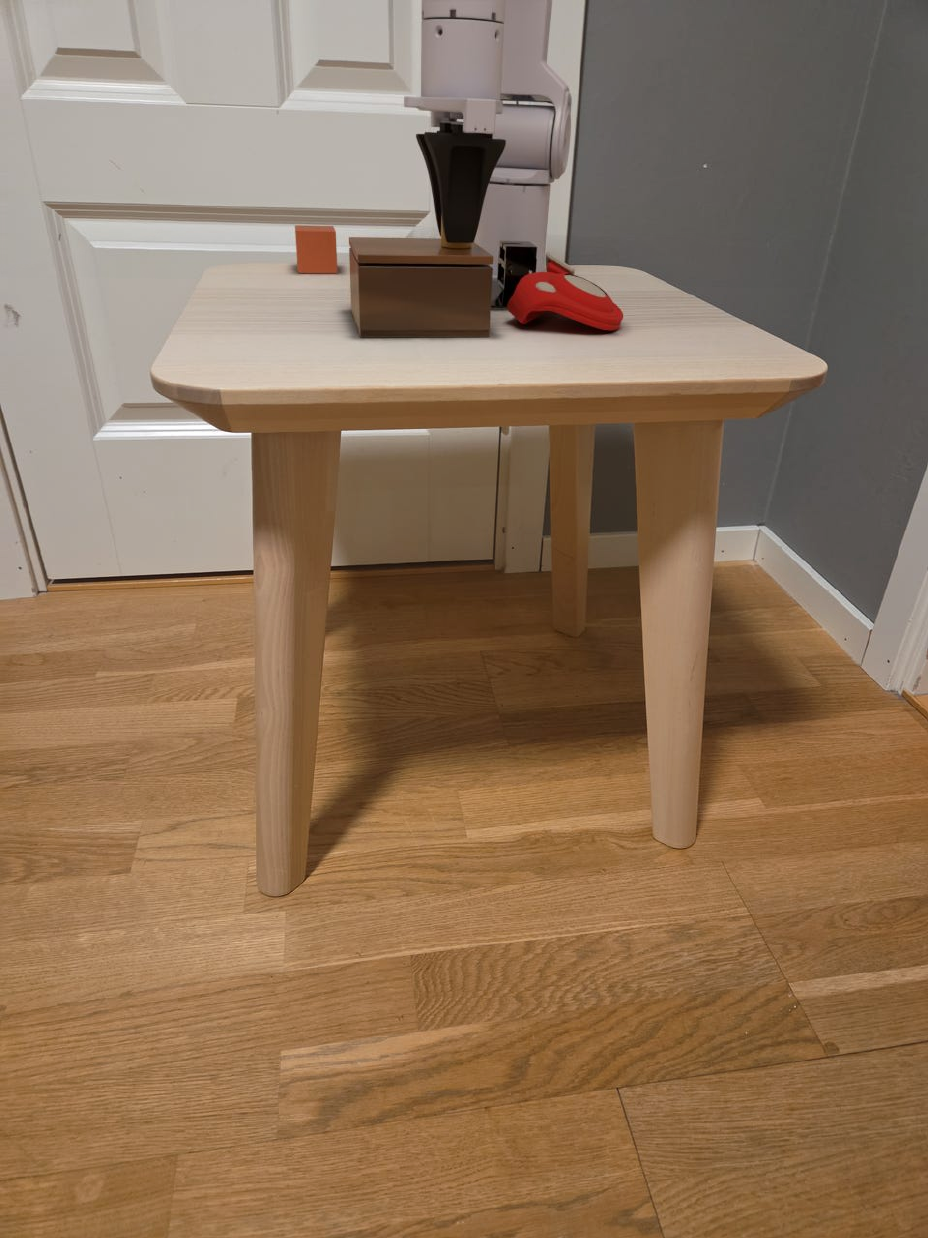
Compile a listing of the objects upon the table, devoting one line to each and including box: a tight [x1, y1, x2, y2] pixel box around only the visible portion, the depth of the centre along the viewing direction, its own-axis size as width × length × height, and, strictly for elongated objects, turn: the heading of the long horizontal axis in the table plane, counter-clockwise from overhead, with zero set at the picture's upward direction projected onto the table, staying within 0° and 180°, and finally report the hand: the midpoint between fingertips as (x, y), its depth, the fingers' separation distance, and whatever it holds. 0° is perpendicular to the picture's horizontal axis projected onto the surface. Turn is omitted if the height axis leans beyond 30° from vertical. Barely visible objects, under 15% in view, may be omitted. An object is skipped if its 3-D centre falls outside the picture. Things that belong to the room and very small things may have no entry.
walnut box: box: [348, 247, 493, 338], centre depth 65 cm, size 9×10×5 cm
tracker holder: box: [506, 252, 624, 331], centre depth 68 cm, size 12×4×10 cm
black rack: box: [491, 241, 537, 310], centre depth 77 cm, size 12×7×5 cm, turn 7°
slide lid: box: [348, 213, 494, 265], centre depth 62 cm, size 9×10×4 cm
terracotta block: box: [294, 224, 338, 274], centre depth 85 cm, size 4×4×4 cm
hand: (456, 239), depth 63 cm, fingers closed on slide lid, 2 cm apart
